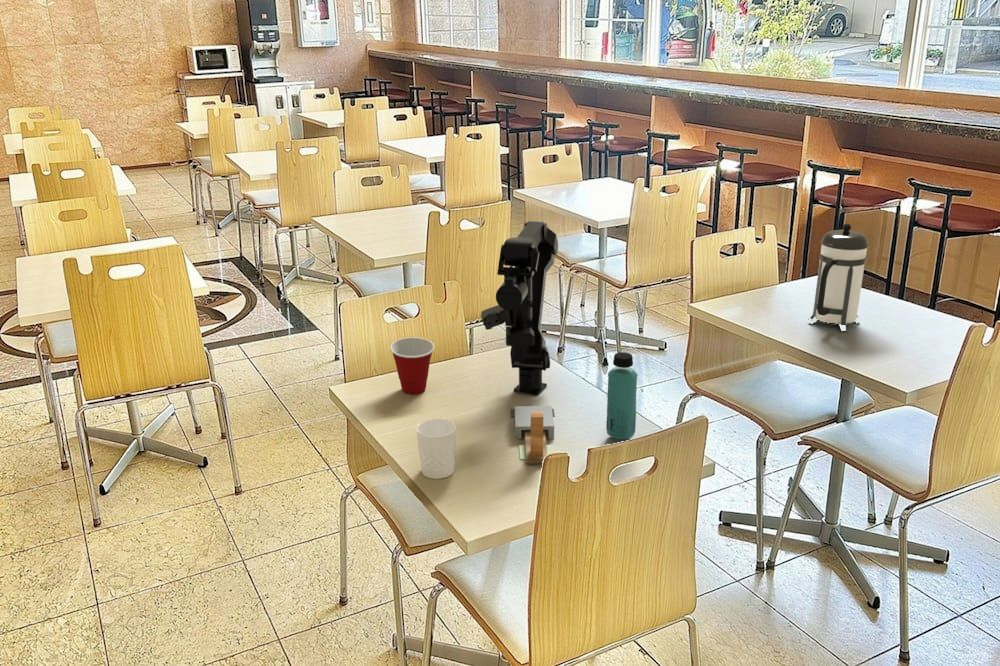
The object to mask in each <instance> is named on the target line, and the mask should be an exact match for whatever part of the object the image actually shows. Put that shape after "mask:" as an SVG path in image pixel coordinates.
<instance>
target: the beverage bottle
mask: <svg viewBox="0 0 1000 666" xmlns="http://www.w3.org/2000/svg"><path fill="white" fill-rule="evenodd" d="M633 359H634V358H633V354H631V353H629V352H627V351H626V352H624V351H622V352H616V353H614V355H613V359H612V360H613V361H612V362H613V363H612V364H613V365H614V366H615V367H612V368H611V369H610V370H609V371H608V373H607V378H608V379H607V395H606V397H607V400H606V403H607V405H606V421H605V424H606V434H607V435H608V436H609V437H610V438H613V439H618V440H627V439H630V438H633V437H634V435H635V433H636V426H637V424H636V422H637V386H638V385H637V383H638V373H637V372H636V371H635V369H634V368H632V366H633V365H634V361H633Z"/></svg>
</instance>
